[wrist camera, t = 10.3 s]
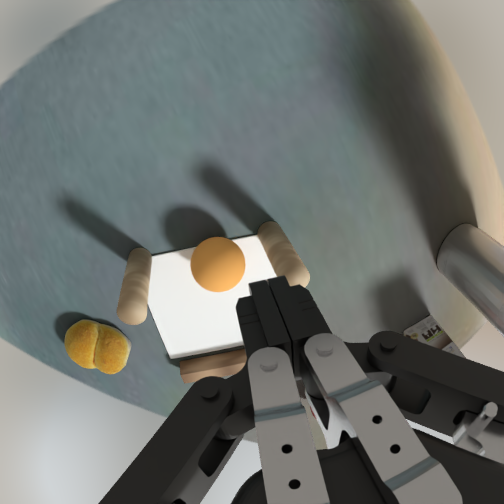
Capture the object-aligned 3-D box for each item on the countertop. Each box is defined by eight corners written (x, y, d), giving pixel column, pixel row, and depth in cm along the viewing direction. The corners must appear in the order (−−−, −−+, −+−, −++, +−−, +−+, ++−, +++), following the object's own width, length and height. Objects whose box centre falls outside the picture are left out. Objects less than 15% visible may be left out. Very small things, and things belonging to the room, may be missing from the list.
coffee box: (401, 330, 49) (451, 400, 36) (431, 313, 49) (483, 377, 35) (402, 358, 54) (443, 421, 41) (429, 342, 54) (472, 401, 40)
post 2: (280, 219, 34) (309, 264, 26) (281, 240, 35) (310, 288, 28) (256, 223, 34) (279, 270, 26) (258, 245, 35) (281, 295, 27)
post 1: (148, 245, 32) (141, 299, 25) (154, 266, 34) (150, 322, 26) (125, 250, 32) (112, 304, 24) (132, 270, 33) (122, 326, 26)
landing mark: (277, 230, 35) (278, 231, 34) (285, 334, 43) (285, 335, 43) (132, 260, 33) (132, 261, 33) (170, 357, 41) (170, 358, 41)
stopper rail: (278, 340, 43) (283, 353, 41) (279, 349, 44) (284, 362, 42) (179, 361, 42) (180, 374, 40) (183, 369, 43) (184, 383, 41)
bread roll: (69, 309, 35) (61, 331, 31) (135, 328, 38) (133, 351, 35) (65, 351, 38) (59, 373, 34) (124, 367, 41) (122, 389, 38)
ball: (255, 287, 34) (230, 250, 36) (256, 256, 29) (228, 217, 32) (208, 310, 32) (186, 270, 35) (201, 282, 28) (177, 239, 30)
